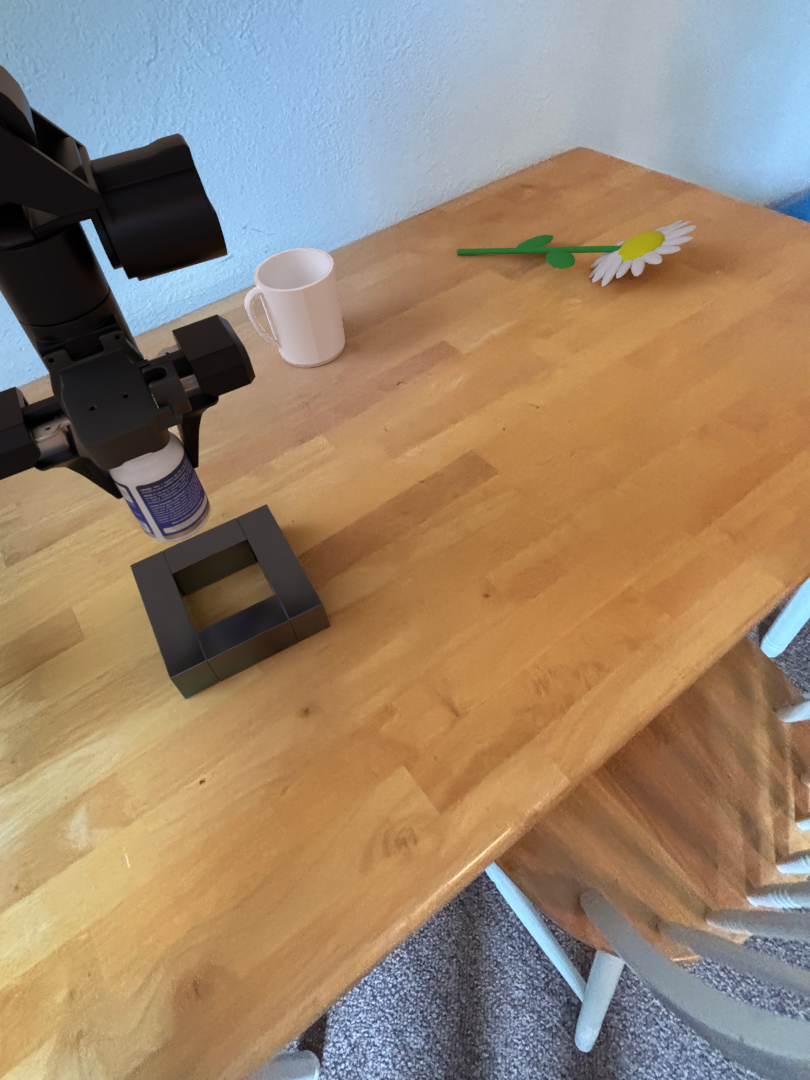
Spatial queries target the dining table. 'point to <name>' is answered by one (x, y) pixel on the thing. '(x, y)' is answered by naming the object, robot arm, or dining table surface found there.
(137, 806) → the dining table surface
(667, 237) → the decorative flower
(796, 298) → the dining table surface
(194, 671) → the stand
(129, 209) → the robot arm
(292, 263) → the mug
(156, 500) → the pill bottle
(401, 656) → the dining table surface
